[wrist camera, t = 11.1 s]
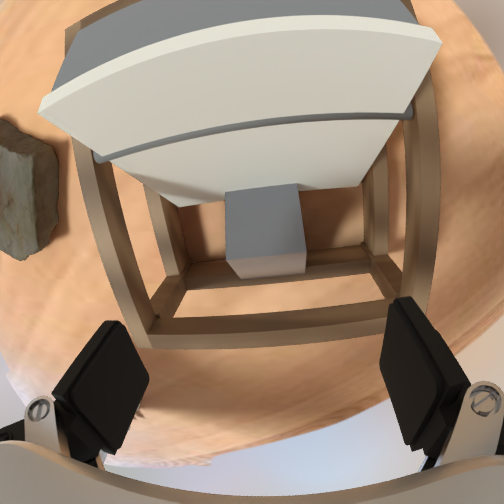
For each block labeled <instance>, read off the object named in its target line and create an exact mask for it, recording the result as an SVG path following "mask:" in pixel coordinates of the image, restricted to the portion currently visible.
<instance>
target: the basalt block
mask: <svg viewBox="0 0 504 504" xmlns="http://www.w3.org/2000/svg"><path fill="white" fill-rule="evenodd" d="M225 235H226V261H227V262H228V263H229V265H230V266H231V267H232V268H233V270H234V271H235V272H236V274H237V275H238V276H239V277H240V279H241V280H243V279H254V278H265V277H275V276H286V275H296V274H305V266H306V253H307V251H306V243H305V236H304V228H303V221H302V214H301V207H300V201H299V194H298V188H297V183H294V184H285V185H276V186H267V187H259V188H251V189H244V190H236V191H229V192H225Z"/></svg>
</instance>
